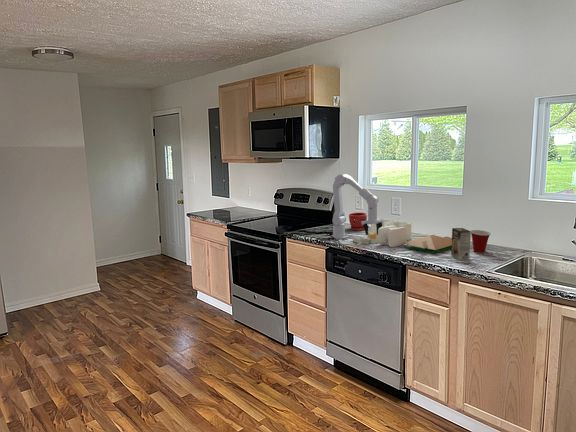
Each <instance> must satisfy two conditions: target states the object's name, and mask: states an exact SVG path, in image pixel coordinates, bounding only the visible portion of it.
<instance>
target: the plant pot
mask: <svg viewBox="0 0 576 432" xmlns="http://www.w3.org/2000/svg"><path fill="white" fill-rule="evenodd" d="M348 221H349V224H350V229H351V230H352V231H365V229H364V227H363V225H362V221H368V213H366V212H352V213H349V214H348Z"/></svg>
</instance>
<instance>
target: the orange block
mask: <svg viewBox="0 0 576 432" xmlns="http://www.w3.org/2000/svg"><path fill="white" fill-rule="evenodd" d="M367 236H368V237H367V238H369V239H376V238H377V236H378V235H377V234H375V233H371V232H370V233H369V232H368V235H367Z"/></svg>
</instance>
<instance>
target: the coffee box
mask: <svg viewBox="0 0 576 432" xmlns="http://www.w3.org/2000/svg"><path fill="white" fill-rule="evenodd" d="M451 238H452V245H451V253H450V254H451V255H450V256H451V257H452V258H454V259H455V260H457V259H458V260H457V261H466V260H465V259H469V260H470V255H471V254H470V253H471V252H470V251H471V239H472V235H471V230H469V229H466V228H463V227H453V228H451Z"/></svg>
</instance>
